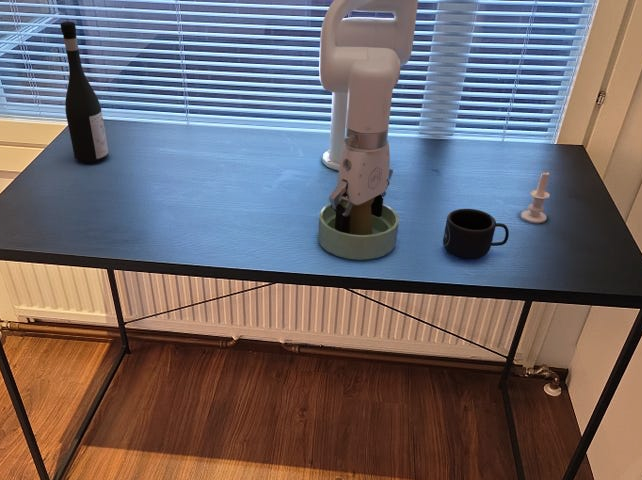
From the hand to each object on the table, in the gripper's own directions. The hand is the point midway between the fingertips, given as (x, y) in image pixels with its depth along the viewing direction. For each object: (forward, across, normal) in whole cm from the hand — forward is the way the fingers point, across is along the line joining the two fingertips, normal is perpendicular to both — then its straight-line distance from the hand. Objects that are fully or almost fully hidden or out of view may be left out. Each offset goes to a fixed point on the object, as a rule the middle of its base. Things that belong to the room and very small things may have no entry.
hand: (358, 222), depth 128 cm
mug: (+4, +13, -18) cm, 23 cm away
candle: (+4, +34, -20) cm, 40 cm away
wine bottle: (+4, -15, +70) cm, 72 cm away
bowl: (+4, 0, 0) cm, 4 cm away
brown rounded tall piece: (+4, 0, 0) cm, 4 cm away
